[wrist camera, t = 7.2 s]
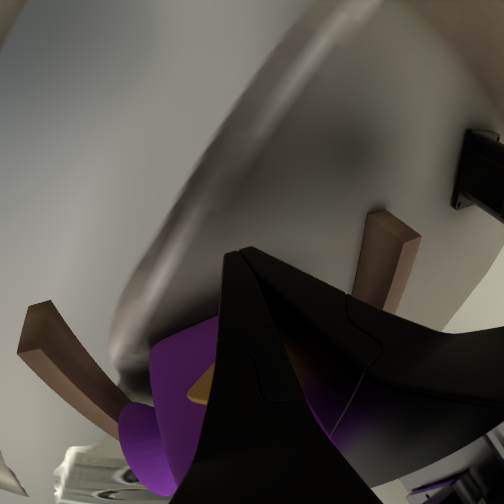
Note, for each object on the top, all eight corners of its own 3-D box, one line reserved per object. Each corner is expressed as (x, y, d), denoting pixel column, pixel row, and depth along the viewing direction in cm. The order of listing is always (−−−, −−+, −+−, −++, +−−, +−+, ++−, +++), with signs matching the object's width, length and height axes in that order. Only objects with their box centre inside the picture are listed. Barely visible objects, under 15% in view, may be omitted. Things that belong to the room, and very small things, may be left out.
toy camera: (82, 367, 14) (100, 526, 6) (277, 246, 14) (408, 425, 6) (183, 416, 21) (218, 520, 13) (325, 339, 21) (395, 443, 13)
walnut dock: (385, 209, 15) (434, 246, 12) (346, 358, 24) (368, 390, 21) (28, 306, 10) (13, 372, 7) (137, 425, 20) (145, 466, 17)
